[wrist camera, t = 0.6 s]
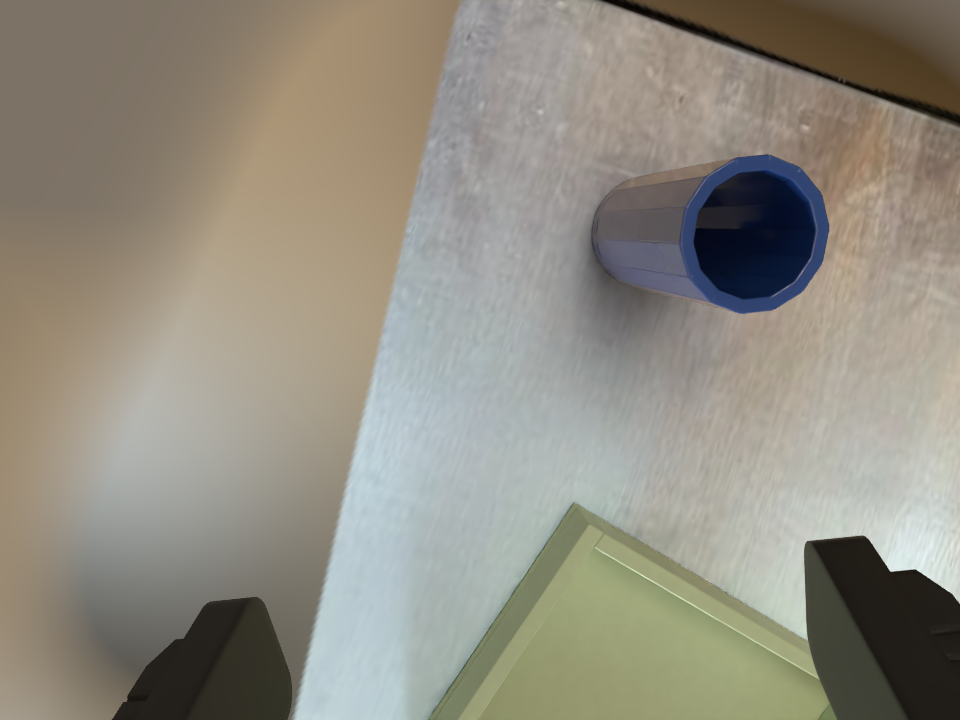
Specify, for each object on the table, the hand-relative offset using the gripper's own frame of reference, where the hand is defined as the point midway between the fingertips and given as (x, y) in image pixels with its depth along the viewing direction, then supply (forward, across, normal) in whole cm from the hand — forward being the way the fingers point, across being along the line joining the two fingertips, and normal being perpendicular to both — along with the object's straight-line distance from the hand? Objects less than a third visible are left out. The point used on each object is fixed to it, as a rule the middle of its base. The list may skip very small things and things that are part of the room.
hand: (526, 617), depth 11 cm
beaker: (+24, -5, 0) cm, 24 cm away
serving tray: (+19, -1, +23) cm, 30 cm away
